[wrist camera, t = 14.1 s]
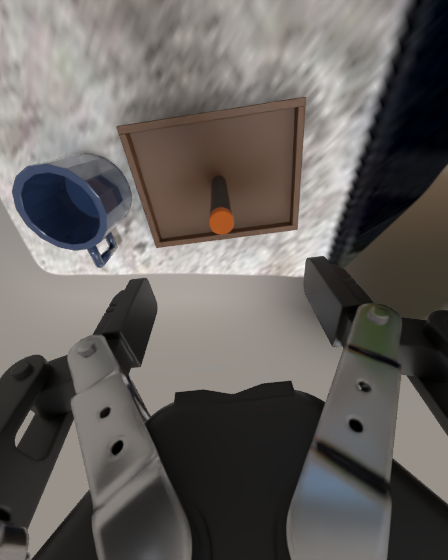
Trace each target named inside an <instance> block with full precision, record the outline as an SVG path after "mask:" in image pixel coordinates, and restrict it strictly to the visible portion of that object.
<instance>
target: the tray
mask: <svg viewBox="0 0 448 560" xmlns="http://www.w3.org/2000/svg"><path fill="white" fill-rule="evenodd" d="M305 105H306V97H302V98H296V99H290V100H283V101H277V102H270V103H264V104H257V105H251V106H245V107H238V108H232V109H225V110H219V111H212V112H206V113H199V114H193V115H187V116H180V117H174V118H167V119H161V120H154V121H148V122H142V123H135V124H129V125H122V126H117V130H118V133H119V134H120V135H119V136H120V139H121V142H122V145H123V148H124V151H125V154H126V157H127V160H128V163H129V166H130V169H131V172H132V175H133V178H134V181H135V184H136V187H137V190H138V193H139V196H140V199H141V202H142V205H143V209H144V212H145V215H146V218H147V221H148V224H149V227H150V230H151V233H152V236H153V239H154V242H155V245H156V248H159V247H167V246H175V245H183V244H190V243H198V242H206V241H213V240H221V239H229V238H237V237H244V236H252V235H260V234H267V233H275V232H283V231H291V230H297V229H298V213H299V197H300V182H301V167H302V151H303V136H304V120H305ZM216 176H222V177H224V178H225V180H226V184H227V189H228V195H229V200H230V205H231V211H232V214H233V218H234V226H233V228H232V230H231V231H230V232H229V233H227V234H223V235H220V234H216V233H214V232H213V231H212V230H211V228H210V226H209V217H210V207H211V189H212V180H213V179H214V177H216Z"/></svg>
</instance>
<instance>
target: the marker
mask: <svg viewBox="0 0 448 560" xmlns="http://www.w3.org/2000/svg"><path fill="white" fill-rule="evenodd" d="M209 226H210V228H211V230H212V231H213V232H214V233H216V234H220V235H223V234H227V233H229V232H230V231H231V230H232V228H233V226H234V218H233V214H232V211H231V205H230V200H229V195H228V189H227V184H226V180H225V178H224V177H222V176H216V177H214V179H213V180H212V189H211V207H210V217H209Z"/></svg>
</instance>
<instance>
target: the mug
mask: <svg viewBox="0 0 448 560" xmlns="http://www.w3.org/2000/svg"><path fill="white" fill-rule="evenodd" d="M12 194H13V198H14V203H15V207H16V210H17V211H18V213H19V214H20V216H21V218H22V219H23V221H24V222H25V224H26V225H27V226H28V227H29V228H30V229H31V230H32V231H34V232H35V233H36V234H37V235H38V236H39V237H40V238H42V239H44V240H46V241H48V242H49V243H51V244H53V245H55V246H57V247H60V248H65V249H70V250H74V251H75V250H83V249H87V250H88V252H89V254H90V256H91V258H92V259H93V261H94V263H95V265H96V266H97V267H98V268H102V267H103V266H104V265H105V264H106V262H107V261H108V260H109V259H110V257H111V256H112V255H113V253H114V252H115V251H116V250H117V248H118V246H117V244H116V242H115V239H114V237H113V235H112V233H111V231H112V230H113V229H114V228H115V227H116V226H117V224H118V223H119V222H120V221H121V220H122V219H123V218H124V217H125V215H126V214H127V213H128V211H129V209H130V206H131V191H130V187H129V185H128V182H127V180H126V178H125V177H124V175H123V174H122V173H121V171H120V170H119V169H118V168H117V167H116V166H115V165H113V164H112V163H111V162H109V161H108V160H106V159H104V158H102V157H100V156H97V155H93V154H80V155H73V156H69V157H65V158H60V159H56V160H51V161H47V162H43V163H38V164H34V165H30V166H27V167H26V168H25V169H24V170H22V171H21V172H20V173H19V174H18V175H17V176H16V177H15V181H14V185H13V189H12ZM104 238H105V239H106V241H107V243H108V245H109V247H108V248H107V249H106V250H105V251H104V252H103V254H102V255H100V253H99V251H98V249H97V247H96V245H97V244H98V243H100V242H101V241H102V240H103V239H104Z"/></svg>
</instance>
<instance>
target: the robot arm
mask: <svg viewBox="0 0 448 560" xmlns="http://www.w3.org/2000/svg"><path fill="white" fill-rule="evenodd" d="M304 292H305V295H306V297H307V299H308V301H309V303H310V305H311V307H312V308H313V310H314V312H315V314H316V316H317V318H318V320H319V322H320V324H321V326H322V328H323V330H324V332H325V334H326V335H327V337H328V339H329V341H330V343H331V345H332V346H333V347H338V346H343V348H344V349H343V352H342V355H341V358H340V361H339V364H338V367H337V370H336V373H335V376H334V379H333V381H332V385H331V388H330V390H329V393H328V397H327V400H326V402H324V401H322V400H321V399H318V398H317V397H315V396H312V395H310V394H308V393H305V392H301V391H297V390H294V388H293V385H292V382H291V381H283V382H274V383H264V384H260V385H257V386H255V387H252V388H249V389H247V390H244V391H241V392H239V393H236V394H227V393H221V392H215V391H209V390H195V391H185V392H176V393H175V400H174V402H173V403H171V404H169V405H167V406H165V407H163V408H162V409H160V410H158V411H157V412H156V413H155V414H153V415H152V416H151V415H150V414H149V412H148V410H147V408H146V406H145V405H144V403H143V401H142V399H141V397H140V395H139V393H138V391H137V389H136V387H135V385H134V383H133V381H132V379H131V377H130V376H129V372H130V369H131V368H134V367H141V364H142V361H143V358H144V354H145V351H146V347H147V344H148V341H149V338H150V334H151V331H152V328H153V324H154V321H155V317H156V314H157V302H156V299H155V296H154V294H153V291H152V289H151V286H150V284H149V281H148V279H147V278H140V279H132V280H130V281H129V283H128V285H127V286H126V289H125V290H122V291H120V292H119V293H118V294H117V295H116V296H115V297H114V298H113V300H112V301H111V303H110V305H109V306H110V307H108V309H107V310H106V313H105V314H104V316H103V317H102V319H101V321H100V323H99V324H98V326H97V328H96V330H95V331H94V333H93V335H91V336H88V337H85V338H84V339H82V340H80V341H79V342H77V343H76V344H75V345H74V346H73V347H72V348H71V349H70V351H69V353H68V355H66V356H63V357H60V358H57V359H54V360H52V361H49V362H48V361H47V360H46V359H45V358H44V357H43V356H41V355H32V356H29V357H26V358H24V359H22V360H20V361H18V362H17V363H15V364H14V365H12V366H11V367H10V368H9V369H8V370H7V371H6V372H5V373H4V374H3V375H2V377H1V379H0V560H30V554H29V552H28V545H29V534H28V531H27V530H28V527H29V524H30V522H31V520H32V518H33V515H34V513H35V510H36V508H37V506H38V503H39V501H40V498H41V496H42V494H43V491H44V489H45V486H46V484H47V482H48V479H49V477H50V474H51V472H52V470H53V467H54V465H55V463H56V460H57V458H58V455H59V453H60V451H61V448H62V446H63V444H64V441H65V439H66V437H67V434H68V431H69V429H70V427H71V425H72V422H73V420H74V421H75V425H76V429H77V434H78V439H79V443H80V447H81V452H82V457H83V461H84V465H85V470H86V474H87V479H88V483H89V488H90V489H89V491H88V492H87V493H86V494H85V495H84V497H83V498H82V499H81V500H80V502H79V503H78V504H77V505H76V506H75V508H74V509H73V510H72V511H71V512H70V513H69V515H68V516H67V517H66V518H65V519H64V521H63V522H62V523H61V524H60V526H59V527H58V528H57V529H56V530H55V532H54V533H53V534H52V535H51V536H50V538H49V539H48V540H47V541H46V543H45V544H44V545H43V546H42V547H41V548H40V550H39V551H38V552H37V554H36V555H35V556H34V557H33V558H32V559H31V560H448V504H447V503H446V502H445V501H443V500H442V499H441V498H440V497H439V496H437V495H436V494H435V493H434V492H433V491H431V490H430V489H429V488H428V487H426V486H425V485H424V484H423V483H422V482H421V481H420V480H418V479H417V478H416V477H415V476H413V475H412V474H411V473H410V472H409V471H407V470H406V469H405V468H404V467H403V466H401V465H400V464H399V463H398V462H397V461H396V460H394V459H393V458H392V457H393V447H394V438H395V428H396V419H397V409H398V399H399V390H400V380H401V374H402V375H407V377H408V378H409V380H410V381H411V383H412V384H413V386H414V387H415V389H416V390H417V391H418V393H419V394H420V396H421V397H422V399H423V400H424V402H425V403H426V405H427V406H428V407H429V409H430V411H431V412H432V413H433V415H434V416H435V418H436V419H437V421H438V422H439V424H440V425H441V427H442V428H443V430H444V431H445V433H446V434H447V435H448V311H446V310H439V311H435V312H433V313H431V314H430V316H429V317H428V319H427V320H418V319H409V318H402V317H400V315H399V314H398V313H397V312H396V311H394V310H393V309H391V308H389V307H387V306H385V305H381V304H376V303H373V301H372V300H371V299H370V298H369V296H368V295H367V294H366V293H365V292H364V291H363V290H362V288H361V287H360V286H359V285H358V284H356V282H355V281H354V279H353V278H351V276H350V275H349V274H348V273H347V272H346V270H344V269H343V268H341V267H339V266H337V265H331V264H330V263H329V262H328V260H327V259H326V258H325V257H324V256H319V257H311V258H307V259H306V264H305V274H304ZM30 410H32V411H33V412H34V413H35V416H34V417H33V419H32V421H31V423H30V425H29V426H28V428H27V430H26V432H25V434H24V435H23V437H22V439H21V441H20V442H19V444H18V446H17V448H16V446H15V436H16V433H17V432H18V430H19V428H20V426H21V425H22V423H23V421H24V419H25V417H26V416H27V414H28V412H29V411H30Z"/></svg>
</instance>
